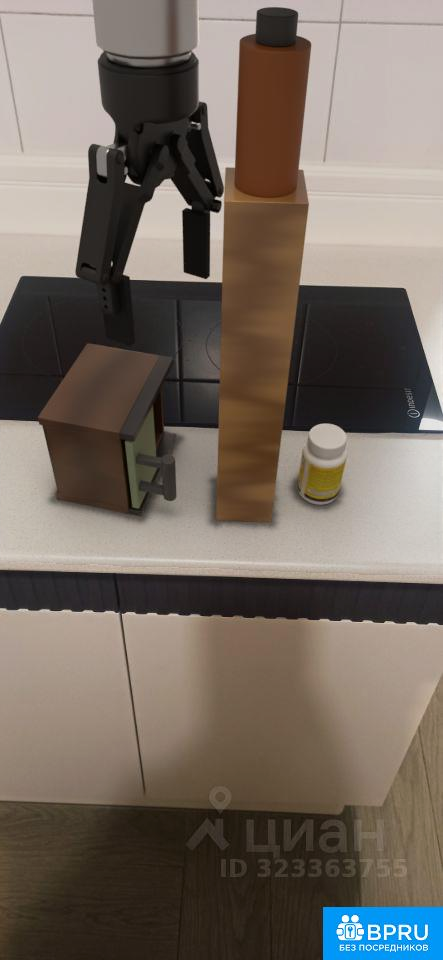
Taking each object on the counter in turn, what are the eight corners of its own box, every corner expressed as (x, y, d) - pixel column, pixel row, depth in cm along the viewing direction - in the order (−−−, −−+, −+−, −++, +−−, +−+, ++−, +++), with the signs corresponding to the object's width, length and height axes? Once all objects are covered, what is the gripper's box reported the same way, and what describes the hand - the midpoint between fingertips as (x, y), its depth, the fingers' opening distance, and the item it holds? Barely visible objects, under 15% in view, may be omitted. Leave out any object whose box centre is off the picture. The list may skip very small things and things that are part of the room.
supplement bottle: (347, 496, 75) (360, 441, 69) (313, 511, 73) (323, 457, 67) (321, 469, 78) (332, 415, 72) (288, 484, 76) (296, 429, 70)
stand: (269, 482, 76) (303, 169, 51) (271, 522, 72) (309, 203, 47) (217, 480, 76) (225, 166, 51) (216, 520, 72) (224, 200, 47)
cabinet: (176, 438, 81) (173, 357, 72) (142, 516, 72) (134, 435, 64) (99, 423, 83) (87, 343, 74) (56, 499, 74) (37, 417, 65)
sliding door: (191, 474, 75) (189, 408, 68) (174, 516, 71) (171, 450, 64) (150, 466, 76) (145, 400, 69) (132, 507, 72) (124, 441, 65)
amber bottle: (306, 180, 50) (326, 9, 42) (280, 203, 47) (296, 24, 39) (251, 167, 51) (260, -1, 43) (223, 188, 48) (227, 14, 41)
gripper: (190, 11, 58) (193, 242, 73) (-9, 87, 43) (47, 359, 58) (268, 23, 55) (254, 260, 71) (86, 109, 40) (118, 386, 56)
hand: (161, 305), depth 64 cm, fingers open, 13 cm apart
